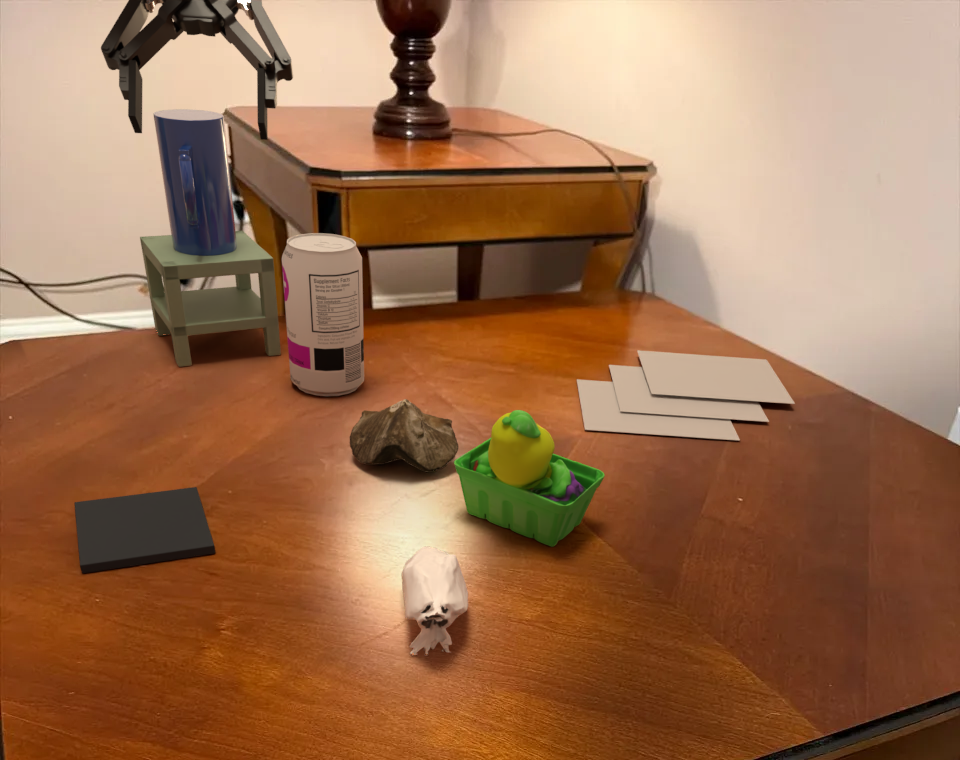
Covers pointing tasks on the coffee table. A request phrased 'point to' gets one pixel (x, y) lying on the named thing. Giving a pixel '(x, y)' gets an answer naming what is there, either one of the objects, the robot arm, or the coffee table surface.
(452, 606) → the white crumpled pouch
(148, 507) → the mat
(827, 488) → the coffee table surface
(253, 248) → the side table
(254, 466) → the coffee table surface
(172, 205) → the jug
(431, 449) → the fossilized seashell
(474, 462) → the fruit basket
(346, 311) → the supplement can
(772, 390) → the paper stack
